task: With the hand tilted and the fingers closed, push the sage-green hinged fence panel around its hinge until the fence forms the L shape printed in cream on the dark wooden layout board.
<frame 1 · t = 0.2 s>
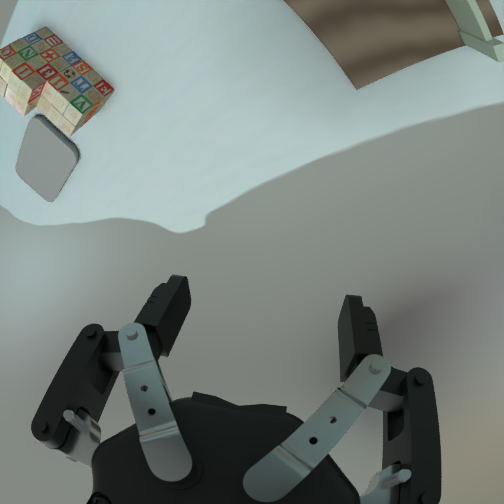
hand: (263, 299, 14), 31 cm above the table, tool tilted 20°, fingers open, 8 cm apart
stack of blocks: (71, 66, 31), on the table
tablet: (46, 158, 49), on the table
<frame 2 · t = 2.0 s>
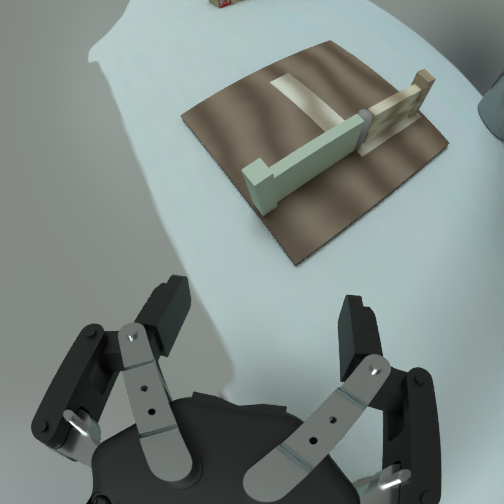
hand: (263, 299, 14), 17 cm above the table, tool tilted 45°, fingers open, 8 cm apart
hinged fence panel: (315, 154, 27), point 6 cm above the table, hinge at 0.0°
coffee cup: (364, 489, 24), on the table
fixed fence panel: (354, 145, 32), resting on layout board
layout board: (320, 121, 34), on the table
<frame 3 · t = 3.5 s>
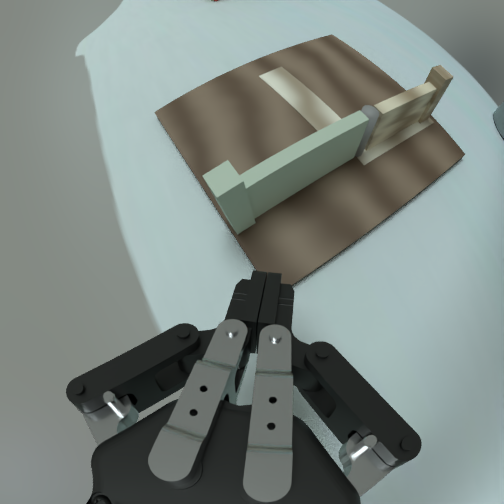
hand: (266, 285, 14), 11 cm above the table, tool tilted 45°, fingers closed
hinged fence panel: (305, 159, 22), point 6 cm above the table, hinge at 0.0°
fixed fence panel: (354, 151, 26), resting on layout board
layout board: (315, 122, 29), on the table
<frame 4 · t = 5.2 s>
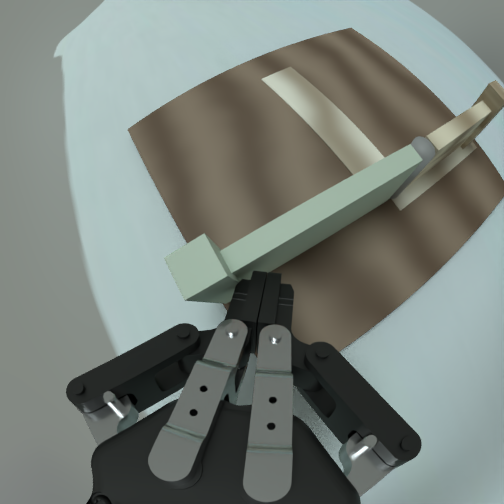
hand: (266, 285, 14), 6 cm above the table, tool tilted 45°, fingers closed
hinged fence panel: (326, 214, 15), point 6 cm above the table, hinge at 2.8°, touching gripper
fixed fence panel: (389, 191, 20), resting on layout board
layout board: (336, 145, 22), on the table
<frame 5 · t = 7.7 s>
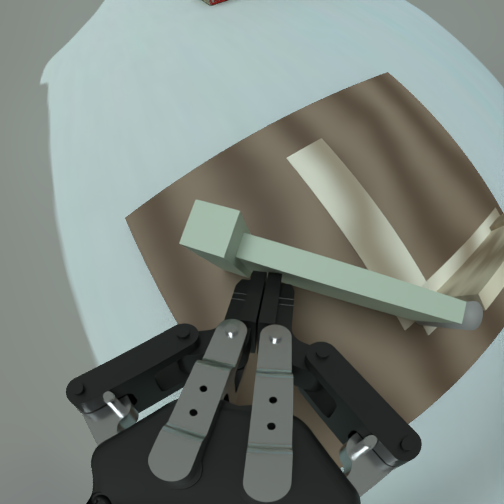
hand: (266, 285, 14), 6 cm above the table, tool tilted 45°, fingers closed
hinged fence panel: (351, 285, 14), point 6 cm above the table, hinge at 50.5°, touching gripper
fixed fence panel: (420, 314, 17), resting on layout board
layout board: (372, 255, 20), on the table
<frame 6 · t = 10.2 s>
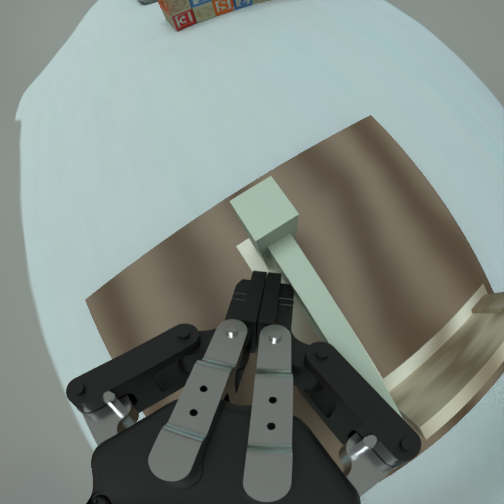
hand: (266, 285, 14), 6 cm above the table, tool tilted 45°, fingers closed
hinged fence panel: (339, 343, 13), point 6 cm above the table, hinge at 90.9°, touching gripper
stack of blocks: (235, 3, 29), on the table
fixed fence panel: (372, 410, 16), resting on layout board
layout board: (326, 351, 19), on the table
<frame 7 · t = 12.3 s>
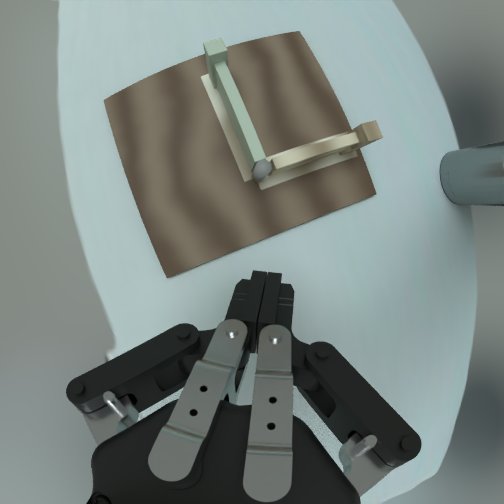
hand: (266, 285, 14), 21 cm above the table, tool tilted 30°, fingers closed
hinged fence panel: (237, 112, 27), point 6 cm above the table, hinge at 90.9°
fixed fence panel: (257, 176, 33), resting on layout board
layout board: (236, 136, 33), on the table
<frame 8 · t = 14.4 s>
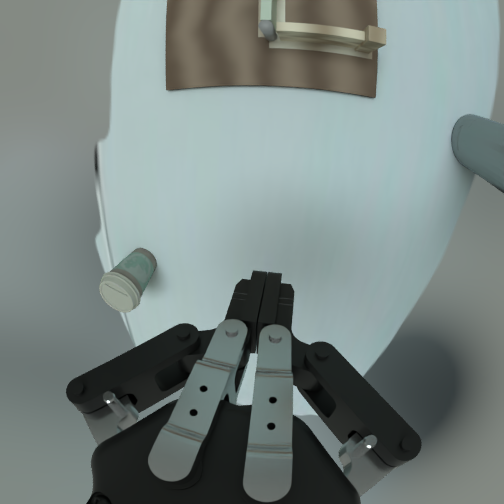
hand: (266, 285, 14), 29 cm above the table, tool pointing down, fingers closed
coffee cup: (144, 259, 54), on the table
fixed fence panel: (271, 36, 28), resting on layout board
layout board: (269, 3, 26), on the table
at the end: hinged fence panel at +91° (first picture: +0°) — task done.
